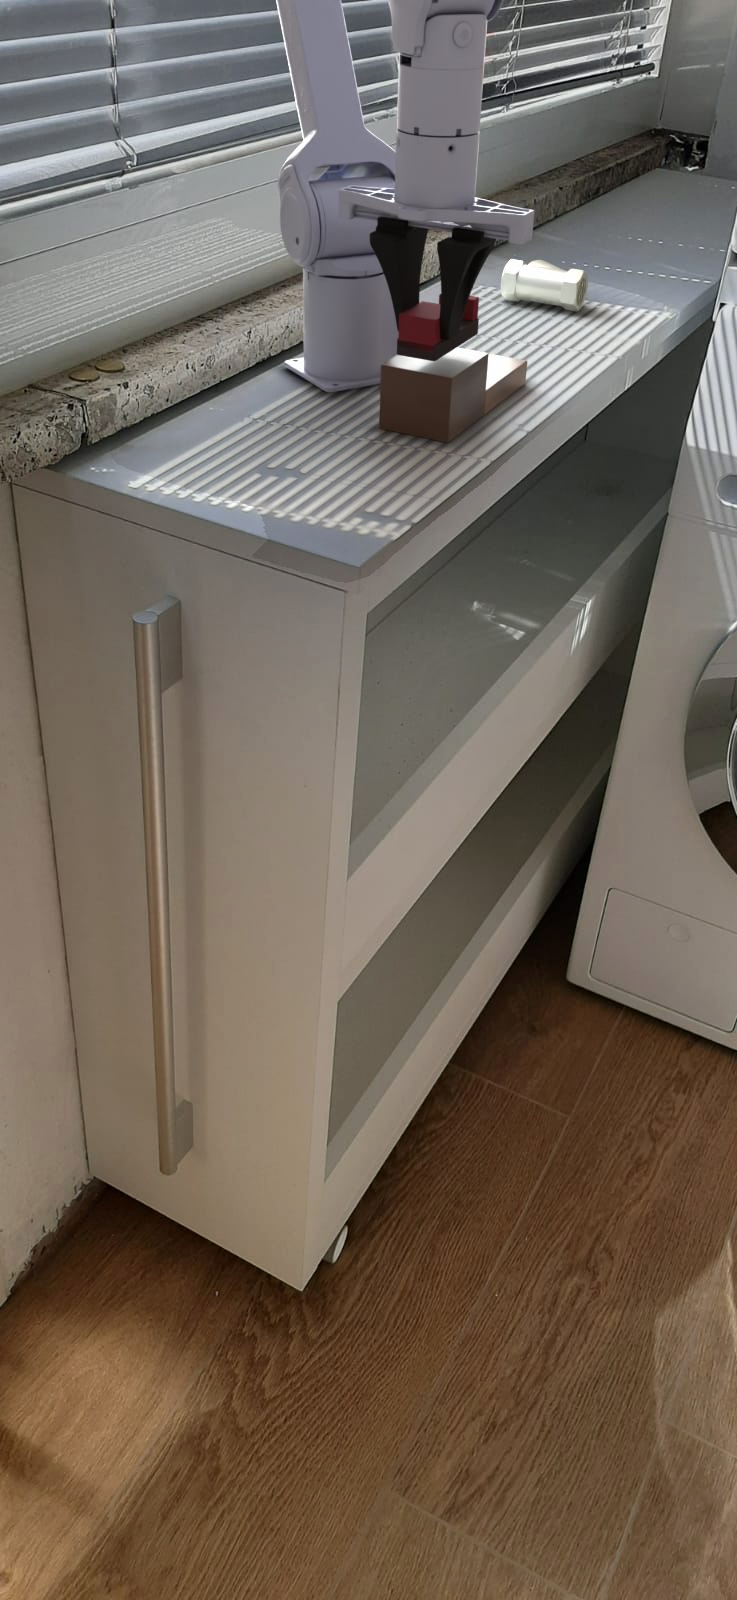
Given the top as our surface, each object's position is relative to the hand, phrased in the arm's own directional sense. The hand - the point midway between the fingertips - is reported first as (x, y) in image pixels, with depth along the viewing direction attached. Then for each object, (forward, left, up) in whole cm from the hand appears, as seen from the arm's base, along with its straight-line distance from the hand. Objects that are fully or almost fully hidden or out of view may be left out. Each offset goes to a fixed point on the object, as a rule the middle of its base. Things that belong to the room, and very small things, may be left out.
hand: (427, 332), depth 95 cm
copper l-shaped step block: (-5, -3, -7) cm, 10 cm away
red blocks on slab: (-2, -1, -1) cm, 2 cm away
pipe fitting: (-31, -24, -8) cm, 40 cm away
